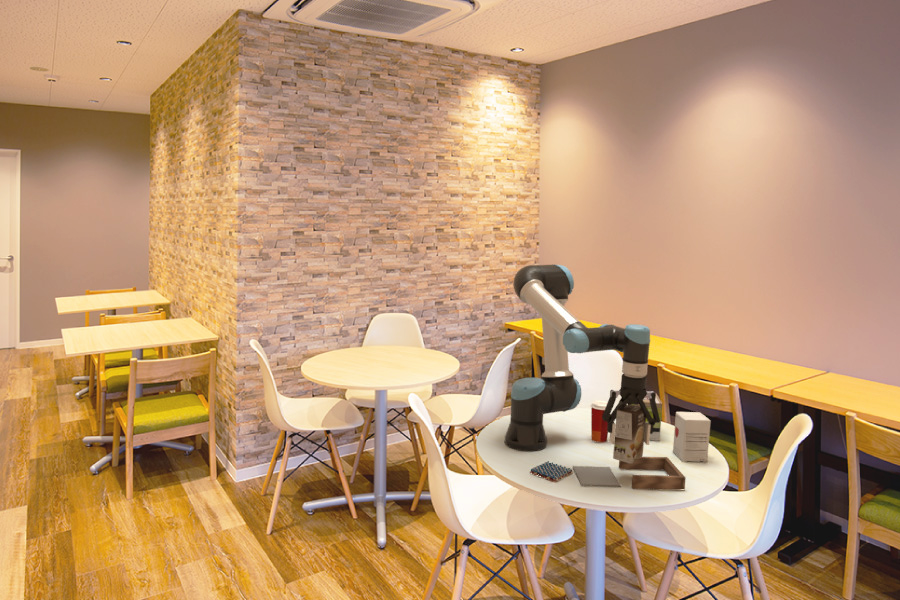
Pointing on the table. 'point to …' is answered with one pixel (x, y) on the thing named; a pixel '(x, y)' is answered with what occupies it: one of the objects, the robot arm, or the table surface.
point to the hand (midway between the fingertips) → (629, 442)
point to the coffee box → (629, 434)
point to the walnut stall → (655, 481)
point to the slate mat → (596, 476)
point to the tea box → (656, 427)
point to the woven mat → (551, 471)
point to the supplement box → (691, 436)
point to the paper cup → (598, 421)
